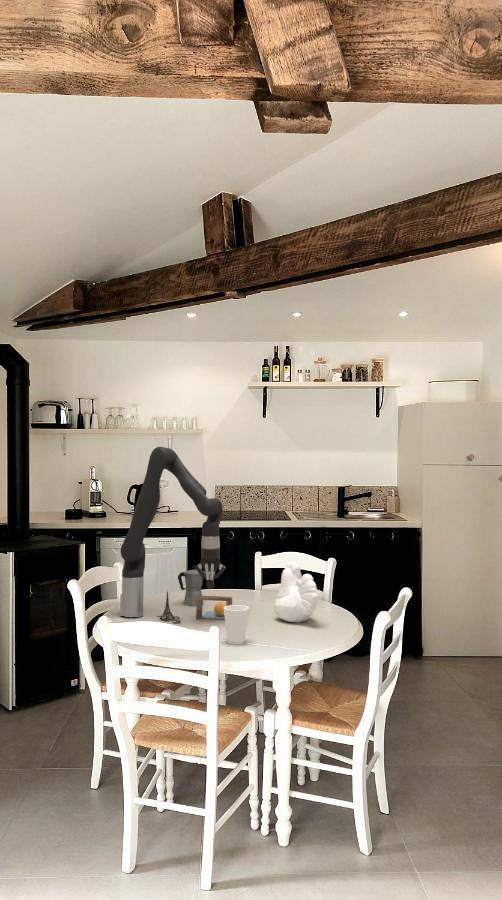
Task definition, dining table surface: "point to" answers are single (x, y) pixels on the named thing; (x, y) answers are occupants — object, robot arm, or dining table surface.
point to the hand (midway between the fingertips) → (210, 588)
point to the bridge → (214, 598)
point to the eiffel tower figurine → (169, 614)
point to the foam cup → (236, 623)
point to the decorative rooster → (295, 595)
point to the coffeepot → (191, 586)
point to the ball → (219, 608)
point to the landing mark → (212, 615)
